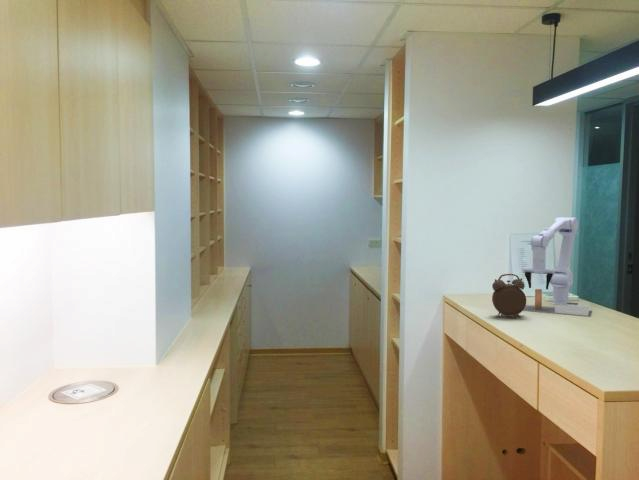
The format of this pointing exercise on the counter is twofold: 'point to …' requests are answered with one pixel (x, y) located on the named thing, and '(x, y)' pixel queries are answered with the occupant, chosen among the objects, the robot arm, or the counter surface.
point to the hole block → (572, 307)
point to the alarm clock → (509, 296)
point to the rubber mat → (547, 310)
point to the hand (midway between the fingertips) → (538, 288)
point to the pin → (538, 299)
